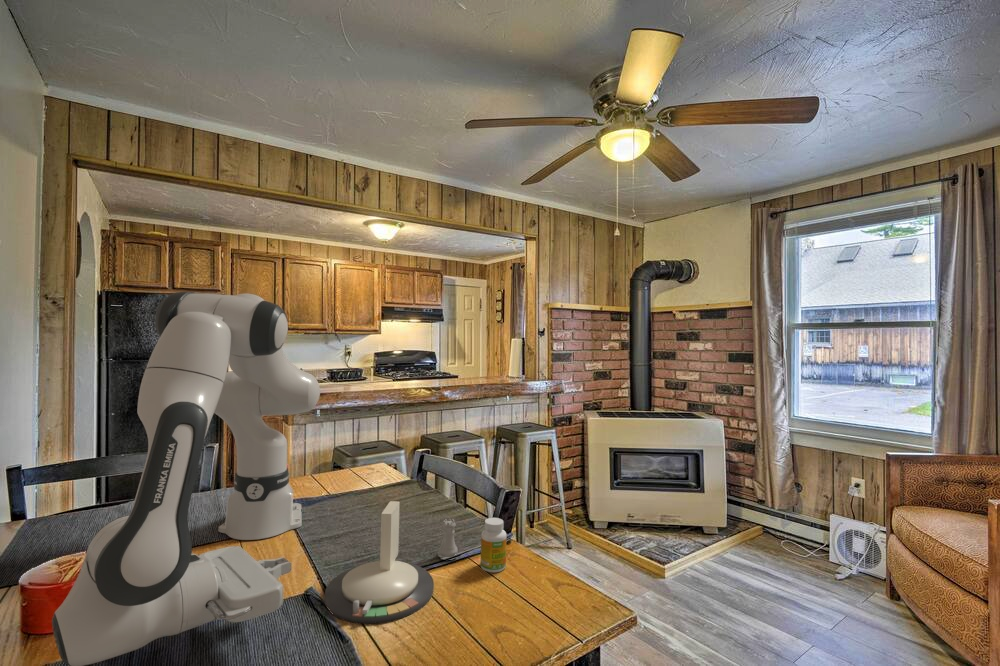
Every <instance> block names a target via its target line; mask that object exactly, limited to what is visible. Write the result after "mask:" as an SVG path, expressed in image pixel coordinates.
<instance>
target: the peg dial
mask: <svg viewBox="0 0 1000 666" xmlns="http://www.w3.org/2000/svg"><path fill="white" fill-rule="evenodd" d="M400 505H401V504H400V501H397V500H395V501H394V500H391V501H389V502H388V504H387V505H386V507H385V508H384V509H383V510H382V512H381V515H380V549H379V550H380V551H379V553H380V554H379V555H380V556H379V557H380V558H379V560H376V561H371V562H366V563H363V564H361V565H357V566H358V567H357V566H355V567H356V568H354V567H353V568H354V569H352V570H351V571H349V572H348V573H347V574H346V575H345V576H344V578H343V580H342V593H343V595H344V596H345V598H347V599H348V600H350V601H351V602H353V601H355V600H359V604H362V605H365V606H364V608H363V610H362V614H367V613H368V611H369V609H370V607H371V605H383V604H389V603H393V602H396V601H399V600H401V599H403V598H405V597H407V596H409V595H410V594H411V593H412V592H413V591H414V590H415V589H416V587H417V585H418V572H417V570H416V569H415V568H414V567H413V566H411V565H409V564H407V563H408V562H406V563H404V562H405V561H400V560H396V559H397V557H398V555H399V546H400V544H399V541H400Z"/></svg>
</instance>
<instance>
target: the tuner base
mask: <svg viewBox="0 0 1000 666" xmlns="http://www.w3.org/2000/svg"><path fill="white" fill-rule="evenodd" d="M403 562H404V563H407V564H409V565H411V566H413V567H414V568H415V569H416V570H417V572H418V585H417V587H416V589H415V590H414V591H413V592H412V593H411V594H410V595H409V596H407V597H405V598H403V599H401V600H399V601H396V602H393V603H389V604H383V605H371V607H370V609H369V611H368V613H367V614H362V610H363V608H364V606H365V605H362V604H359V600H355V601H353V602H351V601H350V600H348V599H347V598H345V596H344V595H343V593H342V580H343V578H344V576H345V575H346V574H347V573H348V572H349V571H351V570H352V569H354V568H356V567H358V566H359V565H357V566H353V567H352V568H349V569H346V570H345V571H343V572H342V573H340V574H338V575H337V576H335V577H334V578H333V579H332V580H331V581H330V582H329V583H328V584H327V586H326V588H325V591H324V598H323V599H324V601H323V602H324V605H326V606H327V607H328V608H329V609H330V611H331V612H332V613H333V616H334V617H335V618H337V619H339V620H342V621H344V622H349V623H353V624H363V625H370V624H371V625H375V624H377V625H378V624H384V623H389V622H393V621H398V620H401V619H403V618H407V617H408V616H410V615H413V614H415V613H416V612H418V611H420V610H421V609H422V608H424V607H425V606H426V605H427V604H428V603H429V601H430V600H431V599H432V597H433V595H434V594H433V593H434V591H435V590H434V589H435V587H434V585H435V583H434V579H433V576H432V575H431V574H430V572H428V570H426V569H424V567H421V566H420V565H416V564H414V563H411V562H405V561H403Z"/></svg>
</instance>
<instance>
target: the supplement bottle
mask: <svg viewBox="0 0 1000 666" xmlns="http://www.w3.org/2000/svg"><path fill="white" fill-rule="evenodd" d="M504 525H505V524H504V520H503V519H501V518H499V517H489V518H486V519H485V520H484V529H483V531H482V532H481V535H480V536H481V537H480V568H481V570H483V571H485V572H487V573H499V572H502V571H503V570H505V569H506V566H507V539H508V538H507V532H506V531H505V530H504Z"/></svg>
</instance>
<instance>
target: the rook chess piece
mask: <svg viewBox="0 0 1000 666" xmlns="http://www.w3.org/2000/svg"><path fill="white" fill-rule="evenodd" d="M456 526H457V524H456V522H455V519H454V518H452V519H451V518H448V519H447V518H444V520H443V521H442V523H441V528H442V531H441V532H442V541H441V544H440V547H439V548H438V550H437V551H438V553H439V554H440V555H441V556H444V557H452V556H454V555H455V554H456V553H458V550H459V549H458V547H457V544H456V543H455V532H456V531H455V527H456Z"/></svg>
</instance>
